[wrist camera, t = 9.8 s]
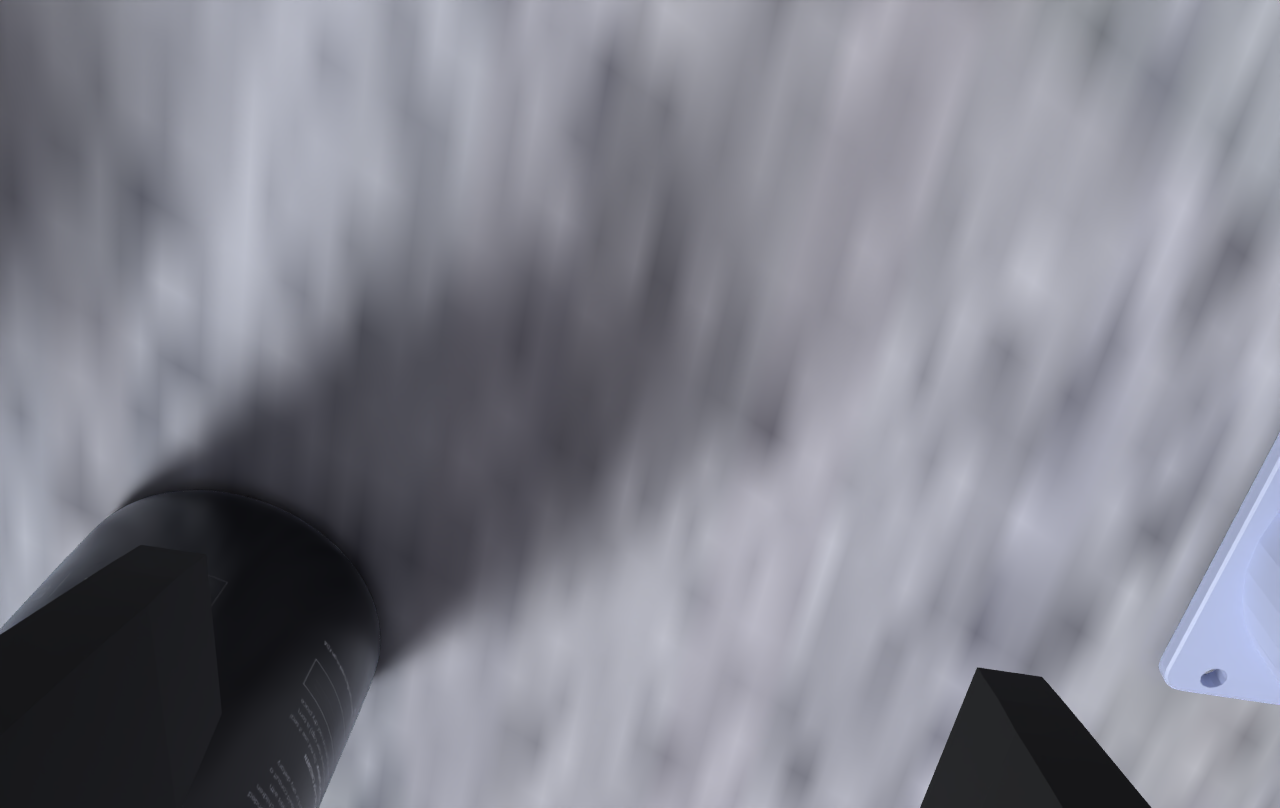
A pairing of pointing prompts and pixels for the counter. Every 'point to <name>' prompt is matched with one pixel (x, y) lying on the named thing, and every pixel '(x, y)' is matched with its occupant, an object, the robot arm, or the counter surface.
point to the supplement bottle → (256, 638)
